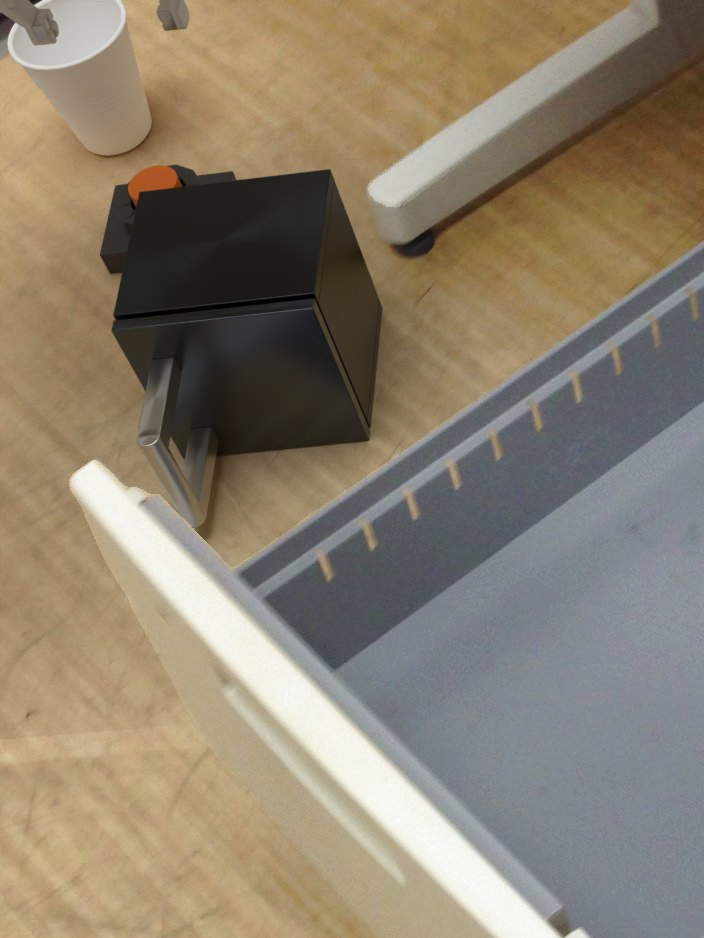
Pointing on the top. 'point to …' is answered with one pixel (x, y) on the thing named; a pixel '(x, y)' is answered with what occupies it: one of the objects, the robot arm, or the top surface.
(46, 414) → the top surface
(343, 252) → the cupboard
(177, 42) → the top surface
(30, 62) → the cup
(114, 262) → the release block
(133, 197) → the release button
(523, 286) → the top surface
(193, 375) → the cupboard door
